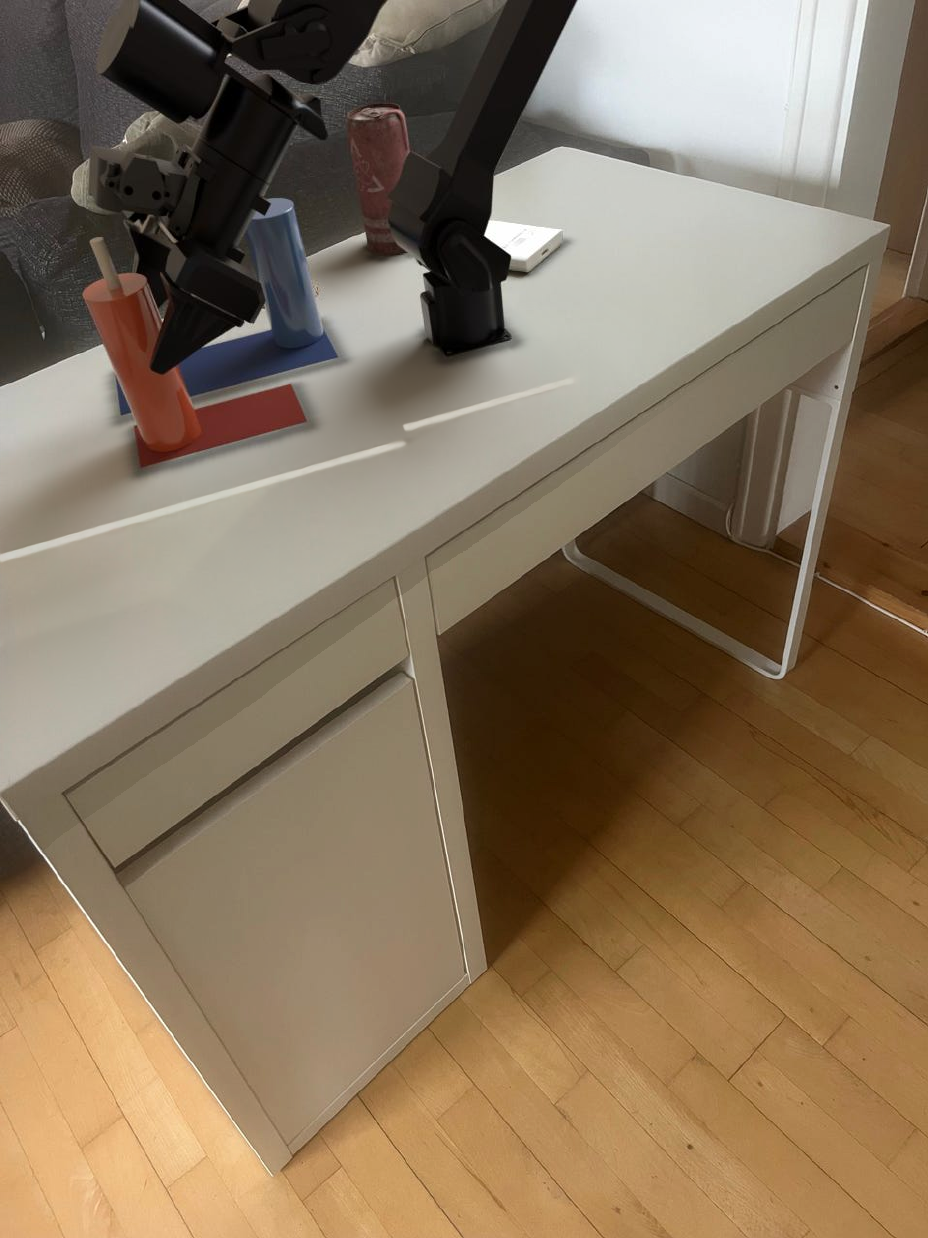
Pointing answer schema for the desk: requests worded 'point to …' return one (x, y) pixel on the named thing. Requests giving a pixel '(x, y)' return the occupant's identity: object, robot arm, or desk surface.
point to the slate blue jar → (284, 275)
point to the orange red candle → (139, 355)
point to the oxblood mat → (234, 422)
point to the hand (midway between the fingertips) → (142, 348)
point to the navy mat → (242, 363)
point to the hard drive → (524, 242)
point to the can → (377, 167)
